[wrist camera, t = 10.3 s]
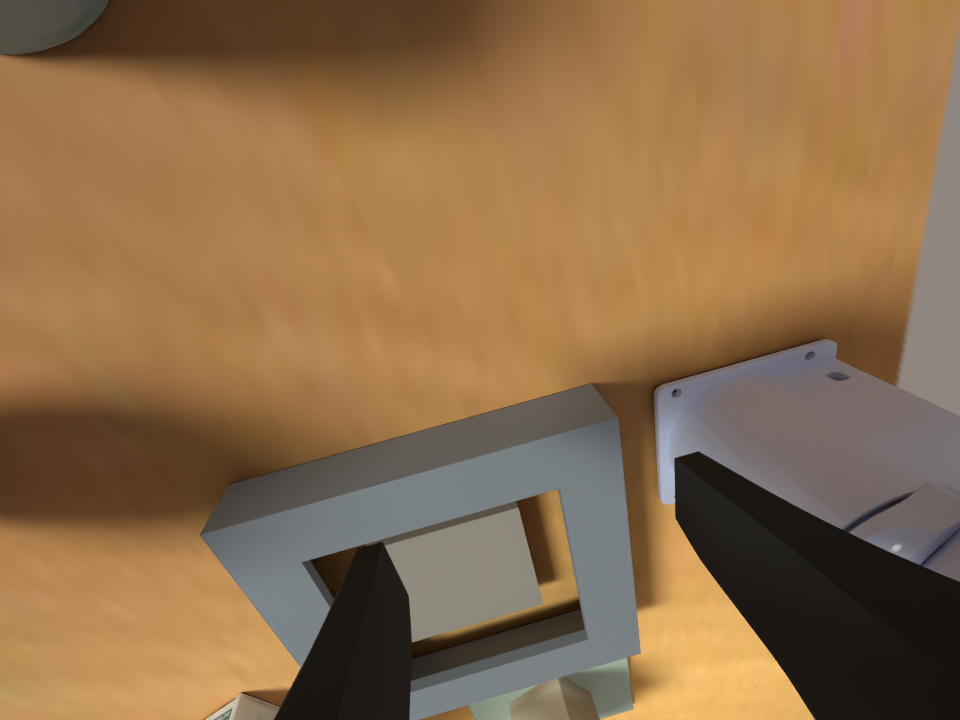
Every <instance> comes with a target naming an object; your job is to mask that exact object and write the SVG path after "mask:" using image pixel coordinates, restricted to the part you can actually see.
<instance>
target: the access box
mask: <svg viewBox="0 0 960 720" xmlns="http://www.w3.org/2000/svg"><path fill="white" fill-rule="evenodd" d="M556 489H558V491H559V496H560V502H561V507H562V512H563V517H564V522H565V528H566V533H567V538H568V543H569V548H570V554H571V559H572V564H573V569H574V575H575V580H576V585H577V590H578V595H579V601H580V606H581V609H579V610H576V611H573V612H569V613H566V614H562V615H559V616H556V617H552V618H549V619H546V620H542V621H539V622H535V623H532V624H529V625H525V626H522V627H518V628H515V629H512V630H508V631H505V632H502V633H498V634H495V635H491V636H488V637H485V638H481V639H478V640H474V641H471V642H468V643H464V644H461V645H458V646H454V647H451V648H447V649H444V650H441V651H437V652H434V653H430V654H427V655H424V656H420V657H417V658H414V659H412V663H411V692H410V719H409V720H421V719H424V718H427V717H431V716H434V715H437V714H441V713H444V712H447V711H451V710H454V709H457V708H461V707H464V706H467V705H471V704H474V703H477V702H481V701H484V700H487V699H491V698H494V697H497V696H501V695H504V694H507V693H511V692H514V691H517V690H521V689H524V688H527V687H531V686H534V685H537V684H541V683H544V682H547V681H551V680H554V679H557V678H561V677H564V676H567V675H571V674H574V673H577V672H581V671H584V670H587V669H590V668H594V667H597V666H600V665H604V664H607V663H610V662H614V661H617V660H620V659H624V658H627V657H630V656H634V655H637V654H640V653H641V651H640V640H639V630H638V619H637V609H636V598H635V587H634V577H633V566H632V556H631V545H630V535H629V524H628V513H627V503H626V492H625V482H624V471H623V460H622V450H621V439H620V429H619V418H618V416H617V415H616V414H615V412H614V411H613V410H612V409H611V407H610V406H609V405H608V404H607V402H606V401H605V400H604V399H603V397H602V396H601V395H600V394H599V393H598V391H597V390H596V389H595V388H594V386H593V385H592V384H588V385H585V386H581V387H578V388H574V389H570V390H567V391H563V392H560V393H556V394H553V395H549V396H545V397H542V398H538V399H535V400H531V401H527V402H524V403H520V404H517V405H513V406H509V407H506V408H502V409H499V410H495V411H491V412H488V413H484V414H481V415H477V416H473V417H470V418H466V419H463V420H459V421H455V422H452V423H448V424H445V425H441V426H437V427H434V428H430V429H427V430H423V431H420V432H416V433H412V434H409V435H405V436H402V437H398V438H394V439H391V440H387V441H384V442H380V443H376V444H373V445H369V446H366V447H362V448H358V449H355V450H351V451H348V452H344V453H340V454H337V455H333V456H330V457H326V458H322V459H319V460H315V461H312V462H308V463H304V464H301V465H297V466H294V467H290V468H286V469H283V470H279V471H276V472H272V473H269V474H265V475H261V476H258V477H254V478H251V479H247V480H243V481H240V482H236V483H233V484H229V485H228V486H227V488H226V490H225V491H224V493H223V495H222V497H221V498H220V500H219V502H218V504H217V506H216V507H215V509H214V511H213V513H212V514H211V516H210V518H209V520H208V521H207V523H206V525H205V527H204V528H203V530H202V532H201V534H200V536H201V537H202V539H203V540H204V541H205V543H206V544H207V545H208V546H209V548H210V549H211V550H212V552H213V553H214V554H215V556H216V557H217V558H218V560H219V561H220V562H221V563H222V565H223V566H224V567H225V569H226V570H227V571H228V573H229V574H230V575H231V577H232V578H233V579H234V581H235V582H236V583H237V584H238V586H239V587H240V588H241V590H242V591H243V592H244V594H245V595H246V596H247V598H248V599H249V600H250V601H251V603H252V604H253V605H254V607H255V608H256V609H257V611H258V612H259V613H260V615H261V616H262V617H263V619H264V620H265V621H266V622H267V624H268V625H269V626H270V628H271V629H272V630H273V632H274V633H275V634H276V636H277V637H278V638H279V639H280V641H281V642H282V643H283V645H284V646H285V647H286V649H287V650H288V651H289V653H290V654H291V655H292V657H293V658H294V659H295V660H296V662H297V663H298V664H299V666H300V667H302V665H303V664H304V662H305V660H306V658H307V656H308V654H309V652H310V650H311V648H312V645H313V643H314V641H315V639H316V637H317V635H318V633H319V631H320V629H321V627H322V625H323V623H324V620H325V618H326V616H327V614H328V612H329V610H330V608H331V605H332V603H333V601H334V598H333V597H332V595H331V593H330V592H329V590H328V588H327V587H326V585H325V584H324V582H323V580H322V579H321V577H320V575H319V574H318V572H317V571H316V569H315V567H314V566H313V564H312V562H311V561H310V560H311V559H315V558H318V557H322V556H325V555H329V554H332V553H336V552H339V551H343V550H346V549H350V548H353V547H357V546H360V545H364V544H365V546H369V545H372V544H376V543H379V542H383V543H384V545H385V547H386V549H387V552H388V554H389V556H390V558H391V560H392V562H393V564H394V566H395V568H396V570H397V572H398V574H399V576H400V578H401V580H402V583H403V585H404V587H405V589H406V591H407V593H408V595H409V605H410V618H411V634H412V642H415V641H419V640H422V639H426V638H429V637H432V636H436V635H439V634H443V633H446V632H449V631H453V630H456V629H460V628H463V627H466V626H470V625H473V624H477V623H480V622H483V621H487V620H490V619H494V618H497V617H500V616H504V615H507V614H511V613H514V612H517V611H521V610H524V609H528V608H531V607H534V606H538V605H541V604H543V601H542V598H541V594H540V590H539V586H538V582H537V578H536V574H535V570H534V566H533V562H532V559H531V555H530V551H529V547H528V543H527V539H526V535H525V531H524V527H523V523H522V520H521V516H520V512H519V508H518V505H517V501H518V500H521V499H525V498H528V497H532V496H535V495H539V494H542V493H546V492H549V491H553V490H556Z"/></svg>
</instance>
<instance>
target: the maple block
mask: <svg viewBox="0 0 960 720" xmlns="http://www.w3.org/2000/svg"><path fill="white" fill-rule="evenodd" d="M509 708H510V713H511V719H512V720H600V718H599V716H598V713H597V710H596V707H595V704H594V701H593V698H592V695H591V692H589V691H587V690H586V689H584V688H582V687H580V686H579V685H577V684H575V683H573V682H572V681H570V680H568V679H566V678H565V677H561V678H557V679H554V680H551V681H547V682H544V683H541V684H538V685H537V686H535V687H534V688H532V689H530V690H529V691H527V692H526V693H524V694H523V695H521V696H520V697H518V698H517V699H515V700H514V701H512V702H511V703H509Z"/></svg>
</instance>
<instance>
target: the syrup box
mask: <svg viewBox="0 0 960 720" xmlns="http://www.w3.org/2000/svg"><path fill="white" fill-rule="evenodd" d="M279 709H280V707H278V706H276V705H273V704H270V703H268V702H265V701H262V700H260V699H257V698H254V697H251V696H248V695H245V694H243V693H242V694H239V695H238V696H236V697H235V699H234V700H233V701H232V702H230V703H229V704H227V705H226V706H225V707H223V708H221V709H220V710H218V711H217V712H215V713H214V714H212V715H211V716H209V717H208V718H207V719H205V720H274V718H275V716H276V714H277V712H278V711H279Z"/></svg>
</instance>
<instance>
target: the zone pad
mask: <svg viewBox="0 0 960 720" xmlns="http://www.w3.org/2000/svg"><path fill="white" fill-rule="evenodd" d="M564 677H565V678H566V679H568V680H570V681H572V682H573V683H575V684H577V685H579V686H580V687H582V688H584V689H586V690H587V691H589V692H591V695H592V698H593V701H594V704H595V707H596V710H597V713H598V716H599V718H600V719H603V718H606V717H610V716H613V715H616V714H619V713H623V712H626V711H629V710H633V701H632V692H631V684H630V676H629V668H628V659H627V658H624V659H620V660H617V661H614V662H610V663H607V664H604V665H600V666H597V667H594V668H590V669H587V670H584V671H581V672H577V673H574V674H571V675H567V676H564ZM537 685H538V684H537ZM537 685H534V686H531V687H527V688H524V689H521V690H517V691H514V692H511V693H507V694H504V695H501V696H497V697H494V698H491V699H487V700H484V701H481V702H477V703H474V704H471V705H468V706H469V709H470V711H471V713H472V715H473V717H474V719H475V720H512V719H511V713H510V708H509V703H511V702H512V701H514V700H515V699H517V698H518V697H520V696H521V695H523V694H524V693H526V692H527V691H529V690H530V689H532V688H534V687H535V686H537Z"/></svg>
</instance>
